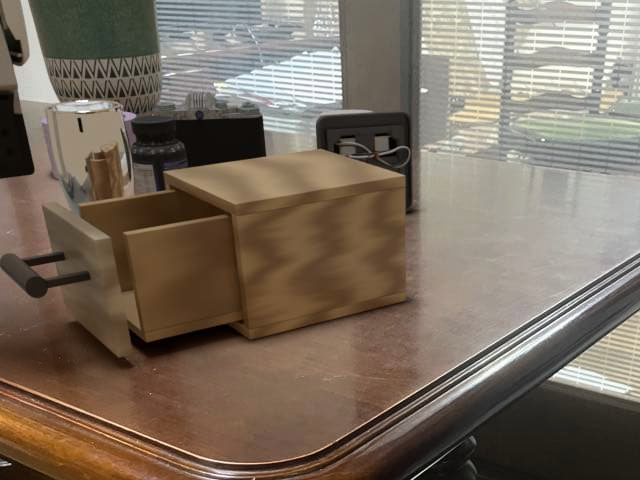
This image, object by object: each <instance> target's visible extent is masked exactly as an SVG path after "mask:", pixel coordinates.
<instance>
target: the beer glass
mask: <svg viewBox="0 0 640 480" xmlns="http://www.w3.org/2000/svg"><path fill="white" fill-rule="evenodd" d="M44 111H45V116H46V117H45V118H47V125H48V132H49V139H50V145H51V150H52V155H53V160H54V164H55V168H56V172H57V175H58V178H59V179H58V181H59V184H60V187H61V189H62V192H63V195H64V198H65V200H66V202H67V205H68V208H69V211H71V212H72V213H74V214H75V215H77V216H79V217H80V215H79V210H78V204H81V203H87V202H94V201H100V200H107V199H113V198H120V197H126V196H132V195H136V185H135V179H134V166H133V159H132V152H131V147H130V142H129V137H128V133H127V129H126V125H125V121H124V118H123V114H122V109H121V104H120V103H119V102H116V101H109V100H79V101H68V102H61V103H60V102H56V103H52V104H49V105H46V106H45V107H44Z"/></svg>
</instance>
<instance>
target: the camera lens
mask: <svg viewBox="0 0 640 480" xmlns="http://www.w3.org/2000/svg"><path fill="white" fill-rule="evenodd" d="M131 126H132V132H133V134H135V136H136V142H134V143H133V144H132V145H131V152H132V159H133V166H134V180H135V191H136V195H139V194H145V193H152V192H158V191H165V190H166V186H165V180H164V173H163V172H164V171H170V170H177V169H184V168H188V163H187V156H186V149H185V146H184V145H183V143H182V142H181V141H179V140H177V139H176V138H175V131H176V124H175V119H174V117H172V116H166V115H151V116H142V117H137V118H134V119H132V120H131Z"/></svg>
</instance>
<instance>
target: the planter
mask: <svg viewBox="0 0 640 480" xmlns="http://www.w3.org/2000/svg"><path fill="white" fill-rule="evenodd" d="M27 3H28V6H29V10H30V13H31V17H32V20H33V24H34V27H35V32H36V35H37V41H38V43H39V48H40V51H41V54H42V59H43V62H44V67H45V70H46V73H47V76H48V79H49V82H50V85H51V87H52V90H53V92H54V94H55V96H56V98H57V100H58V103H61V102H68V101H79V100H109V101H116V102H119V103H120V104H121V105H123V109H124V112H130V113H134V114H135V115H136V118H137V117H142V116H151V115H153V109H154V108H155V104H156V103H160V102H161V98H162V90H163V79H164V78H163V77H164V76H163V62H162V50H161V49H162V48H161V40H160V31H159V19H158V10H157V9H158V8H157V7H158V6H157V0H27Z"/></svg>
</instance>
